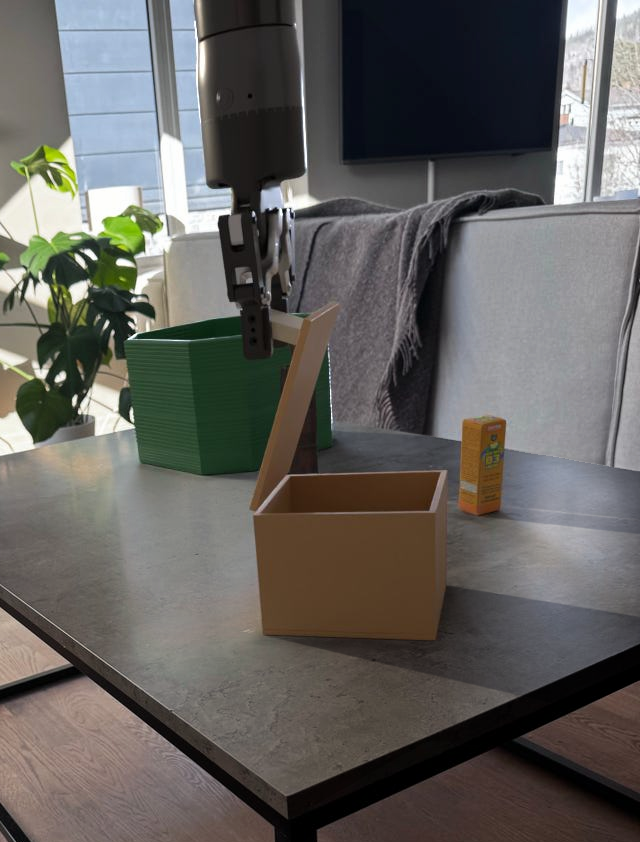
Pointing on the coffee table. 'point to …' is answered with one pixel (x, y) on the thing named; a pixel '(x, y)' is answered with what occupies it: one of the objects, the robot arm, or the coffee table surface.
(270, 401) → the planter
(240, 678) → the coffee table surface
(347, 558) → the carton
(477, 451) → the supplement box
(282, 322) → the flap
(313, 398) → the butter churn
